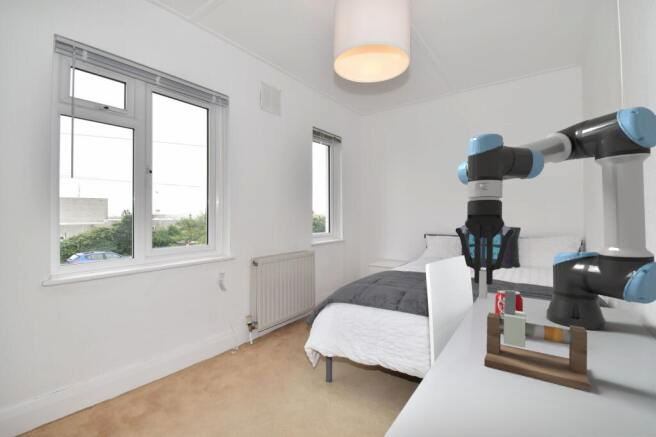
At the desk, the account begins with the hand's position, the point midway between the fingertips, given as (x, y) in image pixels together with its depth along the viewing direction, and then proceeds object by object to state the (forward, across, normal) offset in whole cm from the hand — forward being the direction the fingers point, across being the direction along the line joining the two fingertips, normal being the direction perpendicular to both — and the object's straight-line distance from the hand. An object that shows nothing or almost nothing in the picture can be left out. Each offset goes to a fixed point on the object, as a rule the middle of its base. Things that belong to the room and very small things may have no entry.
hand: (483, 297), depth 74 cm
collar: (+9, +7, 0) cm, 11 cm away
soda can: (+14, +4, +22) cm, 26 cm away
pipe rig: (+14, +10, 0) cm, 17 cm away
